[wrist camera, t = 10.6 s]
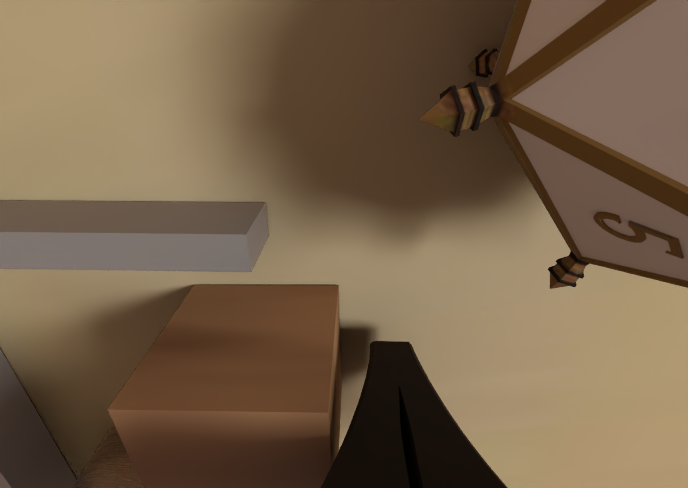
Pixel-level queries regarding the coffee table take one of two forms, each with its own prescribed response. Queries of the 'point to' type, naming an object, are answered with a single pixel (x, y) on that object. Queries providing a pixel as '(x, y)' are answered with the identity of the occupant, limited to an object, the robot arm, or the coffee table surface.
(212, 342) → the walnut block
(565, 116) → the game die
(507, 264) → the coffee table surface
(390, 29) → the coffee table surface
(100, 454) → the silver cylinder
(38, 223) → the parts pen
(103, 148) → the coffee table surface
